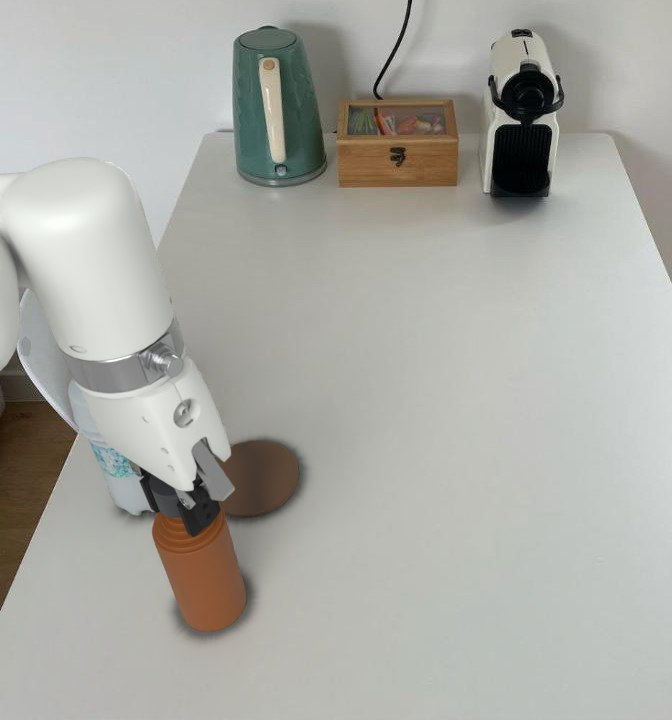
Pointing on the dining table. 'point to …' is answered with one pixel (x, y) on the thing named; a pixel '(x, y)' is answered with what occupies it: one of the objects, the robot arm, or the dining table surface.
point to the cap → (166, 496)
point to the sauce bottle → (201, 571)
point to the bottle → (109, 459)
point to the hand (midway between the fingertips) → (186, 510)
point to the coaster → (258, 478)
